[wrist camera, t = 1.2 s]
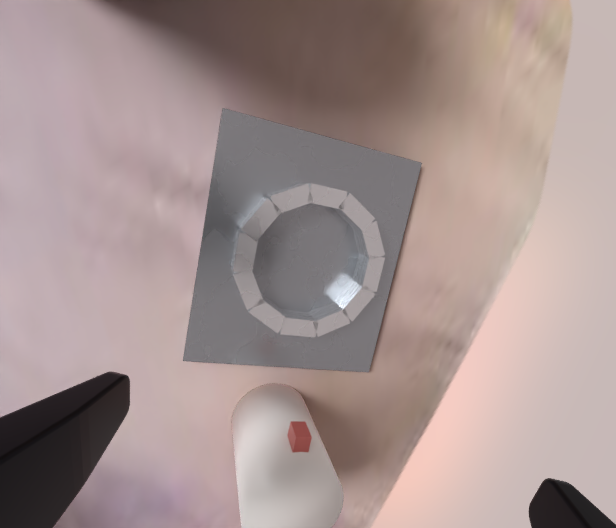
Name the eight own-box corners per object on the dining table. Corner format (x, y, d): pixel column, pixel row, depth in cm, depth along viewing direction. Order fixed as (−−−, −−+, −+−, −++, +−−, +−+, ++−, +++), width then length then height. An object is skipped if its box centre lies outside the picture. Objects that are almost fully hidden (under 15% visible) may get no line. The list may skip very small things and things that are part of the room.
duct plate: (365, 367, 24) (378, 384, 22) (183, 356, 21) (181, 374, 19) (416, 163, 22) (436, 161, 20) (222, 110, 18) (223, 101, 16)
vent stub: (298, 450, 24) (331, 548, 18) (225, 451, 23) (232, 559, 16) (315, 374, 24) (357, 448, 17) (240, 369, 22) (254, 449, 15)
